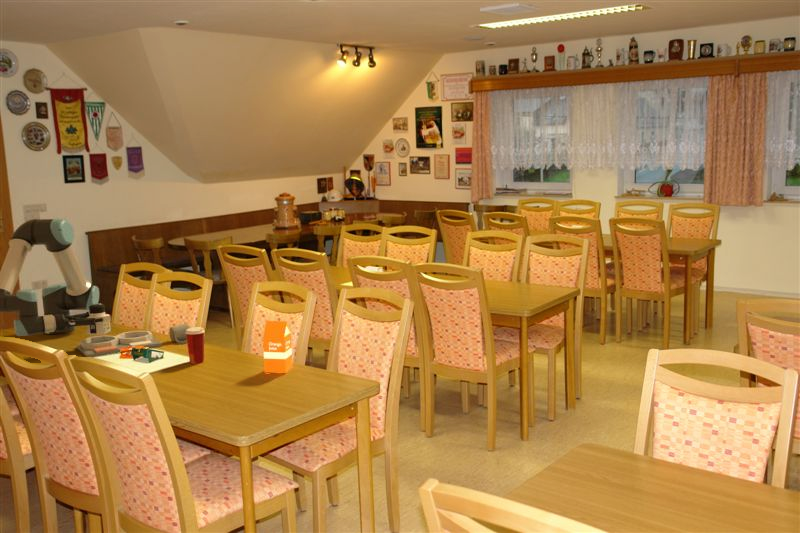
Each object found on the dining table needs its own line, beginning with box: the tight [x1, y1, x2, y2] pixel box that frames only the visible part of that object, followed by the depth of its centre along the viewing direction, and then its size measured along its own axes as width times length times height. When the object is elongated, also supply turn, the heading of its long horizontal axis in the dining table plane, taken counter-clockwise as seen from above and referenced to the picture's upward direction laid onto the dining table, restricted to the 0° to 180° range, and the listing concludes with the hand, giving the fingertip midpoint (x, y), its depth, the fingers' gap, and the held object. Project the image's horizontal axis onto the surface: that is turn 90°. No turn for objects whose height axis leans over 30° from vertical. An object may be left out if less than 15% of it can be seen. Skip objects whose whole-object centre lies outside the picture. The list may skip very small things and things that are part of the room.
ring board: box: [76, 330, 163, 358], centre depth 347 cm, size 22×32×4 cm
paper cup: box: [185, 326, 206, 365], centre depth 317 cm, size 8×8×14 cm
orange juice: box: [262, 320, 293, 373], centre depth 301 cm, size 8×9×20 cm
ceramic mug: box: [168, 323, 190, 345], centre depth 354 cm, size 11×8×8 cm
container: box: [85, 303, 112, 336], centre depth 343 cm, size 8×8×13 cm
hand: (107, 316), depth 345 cm, fingers closed on container, 10 cm apart
